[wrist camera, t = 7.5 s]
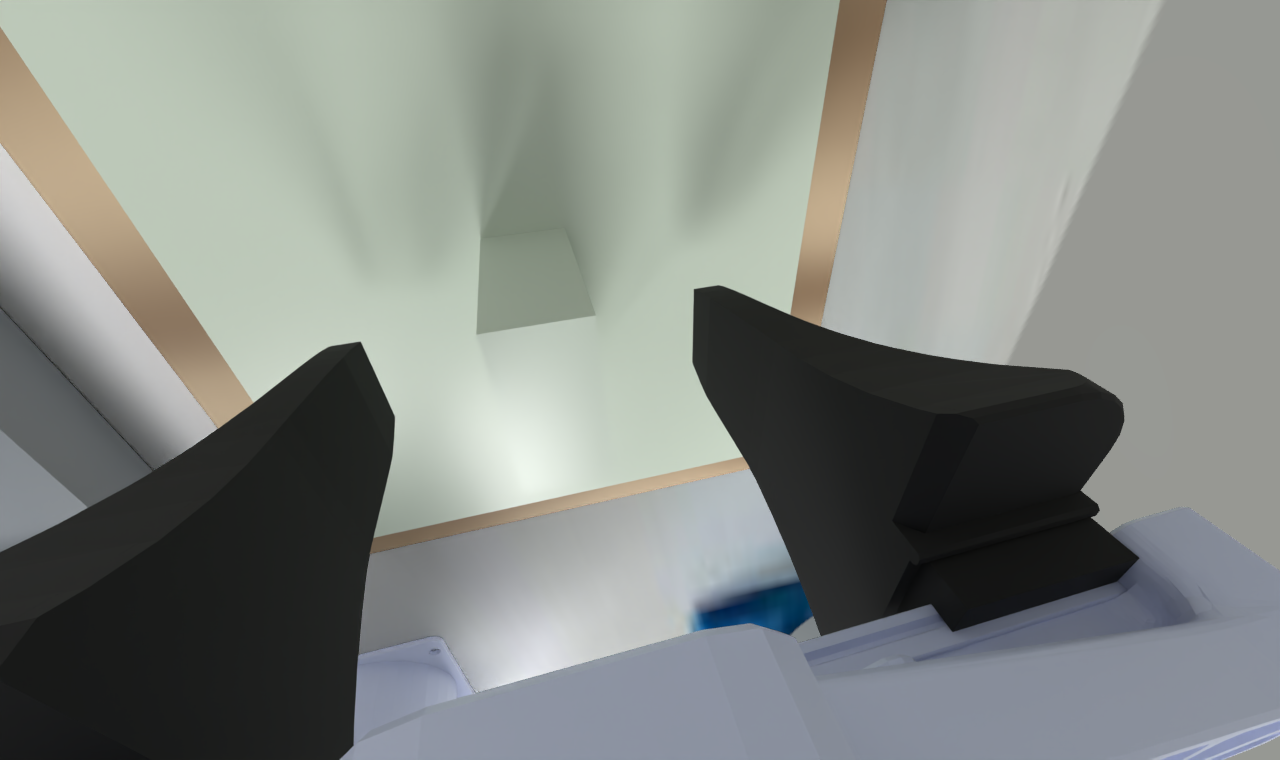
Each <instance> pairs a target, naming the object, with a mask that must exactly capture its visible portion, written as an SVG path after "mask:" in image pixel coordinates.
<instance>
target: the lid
mask: <svg viewBox="0 0 1280 760" xmlns="http://www.w3.org/2000/svg"><path fill="white" fill-rule="evenodd" d="M839 3H840V0H0V27H1V29H2V30H3V32H4V33H5V35H6V36H7V37H8V39H9V40H10V42H11V43H12V45H13V46H14V48H15V49H16V51H17V52H18V54H19V55H20V57H21V58H22V60H23V61H24V63H25V64H26V66H27V67H28V69H29V70H30V72H31V73H32V75H33V76H34V78H35V79H36V80H37V82H38V83H39V85H40V86H41V88H42V89H43V91H44V92H45V94H46V95H47V97H48V98H49V100H50V101H51V103H52V104H53V106H54V107H55V109H56V110H57V112H58V113H59V115H60V116H61V118H62V119H63V121H64V122H65V124H66V125H67V126H68V128H69V129H70V131H71V132H72V134H73V135H74V137H75V138H76V140H77V141H78V143H79V144H80V146H81V147H82V149H83V150H84V152H85V153H86V155H87V156H88V158H89V159H90V161H91V162H92V164H93V165H94V167H95V168H96V169H97V171H98V172H99V174H100V175H101V177H102V178H103V180H104V181H105V183H106V184H107V186H108V187H109V189H110V190H111V192H112V193H113V195H114V196H115V198H116V199H117V201H118V202H119V204H120V205H121V207H122V208H123V210H124V211H125V213H126V214H127V215H128V217H129V218H130V220H131V221H132V223H133V224H134V226H135V227H136V229H137V230H138V232H139V233H140V235H141V236H142V238H143V239H144V241H145V242H146V244H147V245H148V247H149V248H150V250H151V251H152V253H153V254H154V256H155V257H156V259H157V260H158V261H159V263H160V264H161V266H162V267H163V269H164V270H165V272H166V273H167V275H168V276H169V278H170V279H171V281H172V282H173V284H174V285H175V287H176V288H177V290H178V291H179V293H180V294H181V296H182V297H183V299H184V300H185V302H186V303H187V304H188V306H189V307H190V309H191V310H192V312H193V313H194V315H195V316H196V318H197V319H198V321H199V322H200V324H201V325H202V327H203V328H204V330H205V331H206V333H207V334H208V336H209V337H210V339H211V340H212V342H213V343H214V345H215V346H216V348H217V349H218V350H219V352H220V353H221V355H222V356H223V358H224V359H225V361H226V362H227V364H228V365H229V367H230V368H231V370H232V371H233V373H234V374H235V376H236V377H237V379H238V380H239V382H240V383H241V385H242V386H243V388H244V389H245V391H246V392H247V393H248V395H249V396H250V398H251V399H252V401H253V402H255V401H257V400H258V399H259V398H260V397H262V396H263V395H264V394H265V393H267V392H268V391H269V390H271V389H272V388H273V387H274V386H276V385H277V384H278V383H280V382H281V381H282V380H283V379H285V378H286V377H287V376H288V375H290V374H291V373H292V372H294V371H295V370H296V369H297V368H299V367H300V366H301V365H303V364H304V363H305V362H307V361H308V360H309V359H311V358H312V357H313V356H315V355H316V354H318V353H319V352H321V351H322V350H324V349H326V348H327V347H329V346H335V345H341V344H347V343H354V342H360V341H361V343H362V345H363V347H364V350H365V352H366V354H367V356H368V358H369V361H370V363H371V365H372V367H373V369H374V371H375V374H376V376H377V378H378V380H379V382H380V385H381V387H382V389H383V391H384V393H385V395H386V398H387V400H388V402H389V404H390V406H391V409H392V411H393V413H394V415H395V432H394V446H393V457H392V462H391V466H390V471H389V475H388V479H387V484H386V488H385V492H384V496H383V500H382V504H381V509H380V513H379V517H378V521H377V525H376V529H375V533H374V538H375V537H380V536H384V535H389V534H393V533H398V532H403V531H407V530H412V529H416V528H421V527H425V526H430V525H434V524H439V523H444V522H448V521H453V520H457V519H462V518H466V517H471V516H475V515H480V514H485V513H489V512H494V511H498V510H503V509H507V508H512V507H516V506H521V505H526V504H530V503H535V502H539V501H544V500H548V499H553V498H557V497H562V496H566V495H571V494H576V493H580V492H585V491H589V490H594V489H598V488H603V487H607V486H612V485H617V484H621V483H626V482H630V481H635V480H639V479H644V478H648V477H653V476H658V475H662V474H667V473H671V472H676V471H680V470H685V469H689V468H694V467H699V466H703V465H708V464H712V463H717V462H721V461H726V460H730V459H735V458H740V457H743V456H742V454H741V453H740V451H739V449H738V448H737V446H736V444H735V443H734V441H733V440H732V438H731V436H730V435H729V433H728V431H727V430H726V428H725V426H724V425H723V423H722V422H721V420H720V418H719V417H718V415H717V413H716V412H715V410H714V408H713V407H712V405H711V403H710V401H709V400H708V398H707V396H706V394H705V392H704V390H703V388H702V385H701V383H700V381H699V378H698V376H697V373H696V371H695V368H694V366H693V363H692V350H693V304H694V289H697V288H704V287H710V286H716V285H720V286H724V287H727V288H730V289H732V290H735V291H737V292H739V293H742V294H744V295H746V296H749V297H751V298H753V299H755V300H758V301H760V302H762V303H764V304H767V305H769V306H771V307H773V308H776V309H778V310H780V311H783V312H785V313H787V314H790V313H791V307H792V300H793V294H794V288H795V281H796V275H797V269H798V262H799V256H800V250H801V243H802V237H803V231H804V224H805V218H806V212H807V205H808V199H809V193H810V186H811V180H812V174H813V167H814V161H815V155H816V148H817V142H818V136H819V129H820V123H821V117H822V110H823V104H824V98H825V91H826V85H827V79H828V72H829V66H830V60H831V53H832V47H833V41H834V34H835V28H836V22H837V15H838V9H839Z"/></svg>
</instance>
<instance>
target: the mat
mask: <svg viewBox="0 0 1280 760" xmlns="http://www.w3.org/2000/svg"><path fill="white" fill-rule="evenodd" d="M886 2H887V0H840V3H839V9H838V15H837V22H836V28H835V34H834V41H833V47H832V53H831V60H830V66H829V72H828V79H827V85H826V91H825V98H824V104H823V110H822V117H821V123H820V129H819V136H818V142H817V148H816V155H815V161H814V167H813V174H812V180H811V186H810V193H809V199H808V205H807V212H806V218H805V224H804V231H803V237H802V243H801V250H800V256H799V262H798V269H797V275H796V281H795V288H794V294H793V300H792V307H791V313H790V315H792V316H795V317H797V318H799V319H802V320H804V321H807V322H810V323H813V324H815V325H818V326H821V321H822V316H823V311H824V306H825V302H826V297H827V292H828V287H829V282H830V277H831V272H832V267H833V262H834V257H835V252H836V247H837V243H838V238H839V233H840V228H841V223H842V218H843V213H844V208H845V203H846V198H847V193H848V188H849V183H850V179H851V174H852V169H853V164H854V159H855V154H856V149H857V144H858V139H859V134H860V129H861V124H862V120H863V115H864V110H865V105H866V100H867V95H868V90H869V85H870V80H871V75H872V70H873V65H874V61H875V56H876V51H877V46H878V41H879V36H880V31H881V26H882V21H883V16H884V11H885V6H886ZM0 143H1V144H2V146H3V147H4V148H5V150H6V151H7V152H8V154H9V155H10V156H11V158H12V159H13V160H14V162H15V163H16V164H17V165H18V167H19V168H20V169H21V171H22V172H23V173H24V175H25V176H26V177H27V179H28V180H29V181H30V183H31V184H32V185H33V186H34V188H35V189H36V190H37V192H38V193H39V194H40V196H41V197H42V198H43V200H44V201H45V202H46V204H47V205H48V206H49V207H50V209H51V210H52V211H53V213H54V214H55V215H56V217H57V218H58V219H59V221H60V222H61V223H62V224H63V226H64V227H65V228H66V230H67V231H68V232H69V234H70V235H71V236H72V238H73V239H74V240H75V242H76V243H77V244H78V245H79V247H80V248H81V249H82V251H83V252H84V253H85V255H86V256H87V257H88V259H89V260H90V261H91V263H92V264H93V265H94V266H95V268H96V269H97V270H98V272H99V273H100V274H101V276H102V277H103V278H104V280H105V281H106V282H107V284H108V285H109V286H110V287H111V289H112V290H113V291H114V293H115V294H116V295H117V297H118V298H119V299H120V301H121V302H122V303H123V305H124V306H125V307H126V308H127V310H128V311H129V312H130V314H131V315H132V316H133V318H134V319H135V320H136V322H137V323H138V324H139V326H140V327H141V328H142V329H143V331H144V332H145V333H146V335H147V336H148V337H149V339H150V340H151V341H152V343H153V344H154V345H155V346H156V348H157V349H158V350H159V352H160V353H161V354H162V356H163V357H164V358H165V360H166V361H167V362H168V364H169V365H170V366H171V367H172V369H173V370H174V371H175V373H176V374H177V375H178V377H179V378H180V379H181V381H182V382H183V383H184V385H185V386H186V387H187V388H188V390H189V391H190V392H191V394H192V395H193V396H194V398H195V399H196V400H197V402H198V403H199V404H200V406H201V407H202V408H203V409H204V411H205V412H206V413H207V415H208V416H209V417H210V419H211V420H212V421H213V423H214V424H215V425H216V427H217V428H220V427H221V426H222V425H224V424H225V423H227V422H228V421H229V420H231V419H232V418H233V417H235V416H236V415H238V414H239V413H240V412H242V411H243V410H244V409H246V408H247V407H249V406H250V405H251V404H253V403H254V402H253V401H252V399H251V398H250V396H249V395H248V393H247V392H246V391H245V389H244V388H243V386H242V385H241V383H240V382H239V380H238V379H237V377H236V376H235V374H234V373H233V371H232V370H231V368H230V367H229V365H228V364H227V362H226V361H225V359H224V358H223V356H222V355H221V353H220V352H219V350H218V349H217V348H216V346H215V345H214V343H213V342H212V340H211V339H210V337H209V336H208V334H207V333H206V331H205V330H204V328H203V327H202V325H201V324H200V322H199V321H198V319H197V318H196V316H195V315H194V313H193V312H192V310H191V309H190V307H189V306H188V304H187V303H186V302H185V300H184V299H183V297H182V296H181V294H180V293H179V291H178V290H177V288H176V287H175V285H174V284H173V282H172V281H171V279H170V278H169V276H168V275H167V273H166V272H165V270H164V269H163V267H162V266H161V264H160V263H159V261H158V260H157V259H156V257H155V256H154V254H153V253H152V251H151V250H150V248H149V247H148V245H147V244H146V242H145V241H144V239H143V238H142V236H141V235H140V233H139V232H138V230H137V229H136V227H135V226H134V224H133V223H132V221H131V220H130V218H129V217H128V215H127V214H126V213H125V211H124V210H123V208H122V207H121V205H120V204H119V202H118V201H117V199H116V198H115V196H114V195H113V193H112V192H111V190H110V189H109V187H108V186H107V184H106V183H105V181H104V180H103V178H102V177H101V175H100V174H99V172H98V171H97V169H96V168H95V167H94V165H93V164H92V162H91V161H90V159H89V158H88V156H87V155H86V153H85V152H84V150H83V149H82V147H81V146H80V144H79V143H78V141H77V140H76V138H75V137H74V135H73V134H72V132H71V131H70V129H69V128H68V126H67V125H66V124H65V122H64V121H63V119H62V118H61V116H60V115H59V113H58V112H57V110H56V109H55V107H54V106H53V104H52V103H51V101H50V100H49V98H48V97H47V95H46V94H45V92H44V91H43V89H42V88H41V86H40V85H39V83H38V82H37V80H36V79H35V78H34V76H33V75H32V73H31V72H30V70H29V69H28V67H27V66H26V64H25V63H24V61H23V60H22V58H21V57H20V55H19V54H18V52H17V51H16V49H15V48H14V46H13V45H12V43H11V42H10V40H9V39H8V37H7V36H6V35H5V33H4V32H3V30H2V29H1V27H0ZM746 469H750V468H749V466H748V464H747V462H746V461H745V459H744V458H743V457H740V458H735V459H730V460H726V461H721V462H717V463H712V464H708V465H703V466H699V467H694V468H689V469H685V470H680V471H676V472H671V473H667V474H662V475H658V476H653V477H648V478H644V479H639V480H635V481H630V482H626V483H621V484H617V485H612V486H607V487H603V488H598V489H594V490H589V491H585V492H580V493H576V494H571V495H566V496H562V497H557V498H553V499H548V500H544V501H539V502H535V503H530V504H526V505H521V506H516V507H512V508H507V509H503V510H498V511H494V512H489V513H485V514H480V515H475V516H471V517H466V518H462V519H457V520H453V521H448V522H444V523H439V524H434V525H430V526H425V527H421V528H416V529H412V530H407V531H403V532H398V533H393V534H389V535H384V536H380V537H375V538H373V542H372V546H371V551H370V554H372V553H376V552H381V551H385V550H390V549H394V548H398V547H403V546H407V545H412V544H416V543H421V542H425V541H430V540H434V539H439V538H443V537H447V536H452V535H456V534H461V533H465V532H470V531H474V530H479V529H483V528H488V527H492V526H496V525H501V524H505V523H510V522H514V521H519V520H523V519H528V518H532V517H537V516H541V515H545V514H550V513H554V512H559V511H563V510H568V509H572V508H577V507H581V506H586V505H590V504H594V503H599V502H603V501H608V500H612V499H617V498H621V497H626V496H630V495H635V494H639V493H644V492H648V491H652V490H657V489H661V488H666V487H670V486H675V485H679V484H684V483H688V482H693V481H697V480H701V479H706V478H710V477H715V476H719V475H724V474H728V473H733V472H737V471H742V470H746Z"/></svg>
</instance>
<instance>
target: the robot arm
mask: <svg viewBox="0 0 1280 760" xmlns="http://www.w3.org/2000/svg"><path fill="white" fill-rule="evenodd" d="M692 363H693V366H694V368H695V371H696V373H697V376H698V378H699V381H700V383H701V385H702V388H703V390H704V392H705V394H706V396H707V398H708V400H709V401H710V403H711V405H712V407H713V408H714V410H715V412H716V413H717V415H718V417H719V418H720V420H721V422H722V423H723V425H724V426H725V428H726V430H727V431H728V433H729V435H730V436H731V438H732V440H733V441H734V443H735V444H736V446H737V448H738V449H739V451H740V453H741V454H742V456H743V458H744V459H745V461H746V462H747V464H748V466H749V468H750V470H751V471H752V473H753V475H754V477H755V479H756V481H757V483H758V485H759V487H760V489H761V492H762V494H763V496H764V498H765V500H766V502H767V504H768V507H769V509H770V511H771V513H772V515H773V518H774V520H775V522H776V525H777V527H778V529H779V532H780V534H781V536H782V538H783V541H784V543H785V545H786V548H787V550H788V552H789V555H790V557H791V560H792V562H793V565H794V567H795V570H796V572H797V575H798V577H799V580H800V582H801V585H802V587H803V590H804V592H805V595H806V597H807V600H808V603H809V605H810V608H811V611H812V613H813V616H814V618H815V621H816V624H817V626H818V630H819V632H820V635H821V637H817V638H813V639H810V640H807V641H804V642H800V643H798V642H797V640H796V638H795V637H793V636H790V635H787V634H785V633H782V632H779V631H775V630H772V629H768V628H765V627H761V626H758V625H754V624H751V623H749V624H742V625H735V626H728V627H721V628H714V629H707V630H700V631H697V632H693V633H690V634H686V635H682V636H679V637H675V638H672V639H668V640H665V641H661V642H657V643H654V644H650V645H647V646H643V647H639V648H636V649H632V650H629V651H625V652H622V653H618V654H614V655H611V656H607V657H604V658H600V659H596V660H593V661H589V662H586V663H582V664H578V665H575V666H571V667H568V668H564V669H561V670H557V671H553V672H550V673H546V674H543V675H539V676H535V677H532V678H528V679H525V680H521V681H518V682H514V683H510V684H507V685H503V686H500V687H496V688H492V689H489V690H485V691H482V692H478V693H475V692H474V690H473V688H472V687H471V685H470V683H469V682H468V680H467V678H466V677H465V675H464V673H463V672H462V670H461V668H460V667H459V665H458V663H457V662H456V660H455V658H454V657H453V655H452V653H451V652H450V650H449V648H448V647H447V645H446V643H445V642H444V640H443V639H442V638H441V637H437V636H432V637H427V638H423V639H419V640H415V641H411V642H407V643H403V644H399V645H395V646H391V647H388V648H384V649H380V650H376V651H372V652H368V653H364V654H360V655H358V652H359V641H360V629H361V618H362V608H363V600H364V591H365V582H366V573H367V567H368V561H369V556H370V551H371V546H372V542H373V538H374V533H375V529H376V525H377V521H378V517H379V513H380V509H381V504H382V500H383V496H384V492H385V488H386V484H387V479H388V475H389V471H390V466H391V462H392V457H393V446H394V432H395V415H394V413H393V411H392V409H391V406H390V404H389V402H388V400H387V398H386V395H385V393H384V391H383V389H382V387H381V385H380V382H379V380H378V378H377V376H376V374H375V371H374V369H373V367H372V365H371V363H370V361H369V358H368V356H367V354H366V352H365V350H364V347H363V345H362V343H361V341H360V342H354V343H347V344H341V345H335V346H329V347H327V348H326V349H324V350H322V351H321V352H319V353H318V354H316V355H315V356H313V357H312V358H311V359H309V360H308V361H307V362H305V363H304V364H303V365H301V366H300V367H299V368H297V369H296V370H295V371H294V372H292V373H291V374H290V375H288V376H287V377H286V378H285V379H283V380H282V381H281V382H280V383H278V384H277V385H276V386H274V387H273V388H272V389H271V390H269V391H268V392H267V393H265V394H264V395H263V396H262V397H260V398H259V399H258V400H257V401H255V402H254V403H253V404H251V405H250V406H249V407H247V408H246V409H244V410H243V411H242V412H240V413H239V414H238V415H236V416H235V417H233V418H232V419H231V420H229V421H228V422H227V423H225V424H224V425H222V426H221V427H220V428H218V429H217V430H216V431H214V432H213V433H211V434H210V435H209V436H207V437H206V438H204V439H203V440H201V441H200V442H198V443H197V444H196V445H194V446H193V447H191V448H189V449H188V450H186V451H185V452H183V453H182V454H180V455H179V456H177V457H176V458H174V459H172V460H171V461H169V462H167V463H166V464H164V465H163V466H161V467H159V468H158V469H156V470H154V471H153V472H151V473H150V474H148V475H146V476H145V477H143V478H141V479H140V480H138V481H136V482H134V483H133V484H131V485H129V486H127V487H125V488H124V489H122V490H120V491H118V492H116V493H114V494H113V495H111V496H109V497H107V498H105V499H103V500H101V501H100V502H98V503H96V504H94V505H92V506H90V507H88V508H87V509H85V510H83V511H81V512H79V513H77V514H76V515H74V516H72V517H70V518H68V519H66V520H64V521H63V522H61V523H59V524H57V525H55V526H53V527H51V528H49V529H47V530H45V531H43V532H41V533H39V534H37V535H35V536H33V537H30V538H28V539H26V540H24V541H22V542H20V543H18V544H16V545H14V546H12V547H10V548H8V549H6V550H4V551H1V552H0V760H1224V759H1227V758H1229V757H1232V756H1234V755H1237V754H1239V753H1242V752H1244V751H1247V750H1249V749H1252V748H1254V747H1257V746H1259V745H1262V744H1264V743H1266V742H1268V741H1270V740H1272V739H1274V738H1276V737H1278V736H1280V570H1278V569H1277V568H1275V567H1274V566H1272V565H1271V564H1270V563H1268V562H1267V561H1265V560H1264V559H1262V558H1261V557H1260V556H1258V555H1257V554H1255V553H1254V552H1252V551H1251V550H1250V549H1248V548H1247V547H1245V546H1244V545H1242V544H1241V543H1239V542H1238V541H1237V540H1235V539H1234V538H1232V537H1231V536H1229V535H1228V534H1227V533H1225V532H1224V531H1222V530H1221V529H1219V528H1218V527H1216V526H1215V525H1214V524H1212V523H1211V522H1209V521H1208V520H1206V519H1205V518H1204V517H1202V516H1201V515H1199V514H1198V513H1196V512H1195V511H1193V510H1192V509H1191V508H1189V507H1178V508H1174V509H1171V510H1167V511H1163V512H1160V513H1156V514H1153V515H1149V516H1145V517H1142V518H1139V519H1135V520H1132V521H1129V522H1127V523H1125V524H1122V525H1121V526H1119V527H1118V528H1116V529H1114V530H1113V531H1111V532H1110V533H1109V532H1107V531H1106V530H1105V529H1104V528H1103V527H1102V526H1100V525H1099V524H1098V523H1097V522H1096V521H1094V520H1093V519H1092V518H1091V517H1093V516H1096V515H1097V513H1098V512H1099V511H1100V510H1099V507H1098V504H1097V503H1095V502H1094V501H1093V500H1091V499H1090V498H1089V497H1088V496H1086V495H1085V494H1084V493H1083V492H1082V491H1080V490H1081V489H1082V488H1083V486H1084V485H1085V483H1086V482H1087V481H1088V480H1089V478H1090V477H1091V475H1092V474H1093V473H1094V471H1095V470H1096V469H1097V467H1098V466H1099V465H1100V463H1101V462H1102V461H1103V459H1104V458H1105V457H1106V455H1107V454H1108V453H1109V451H1110V450H1111V448H1112V446H1113V445H1114V443H1115V442H1116V440H1117V438H1118V436H1119V435H1120V433H1121V429H1122V426H1123V423H1124V411H1123V403H1122V402H1121V401H1120V400H1119V399H1118V398H1117V397H1116V396H1115V395H1114V394H1112V393H1110V392H1109V391H1107V390H1105V389H1104V388H1102V387H1101V386H1099V385H1097V384H1096V383H1094V382H1092V381H1090V380H1089V379H1087V378H1086V377H1084V376H1082V375H1080V374H1078V373H1076V372H1073V371H1070V370H1061V369H1048V368H1036V367H1021V366H1009V365H997V364H988V363H980V362H972V361H965V360H957V359H950V358H944V357H938V356H932V355H926V354H921V353H916V352H911V351H906V350H902V349H897V348H892V347H888V346H884V345H879V344H875V343H872V342H868V341H865V340H861V339H858V338H854V337H851V336H847V335H844V334H841V333H838V332H835V331H832V330H829V329H826V328H823V327H821V326H818V325H815V324H813V323H810V322H807V321H804V320H802V319H799V318H797V317H795V316H792V315H790V314H787V313H785V312H783V311H780V310H778V309H776V308H773V307H771V306H769V305H767V304H764V303H762V302H760V301H758V300H755V299H753V298H751V297H749V296H746V295H744V294H742V293H739V292H737V291H735V290H732V289H730V288H727V287H724V286H720V285H716V286H710V287H704V288H697V289H694V304H693V350H692ZM432 649H439V650H435V651H432Z"/></svg>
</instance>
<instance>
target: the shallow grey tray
mask: <svg viewBox="0 0 1280 760" xmlns="http://www.w3.org/2000/svg"><path fill="white" fill-rule="evenodd" d="M151 472H153V470H152V469H151V468H150V467H149V466H148V465H147V464H146V463H145V462H144V461H143V460H142V459H141V458H140V457H139V455H138V454H137V453H136V452H135V451H134V450H133V449H132V448H131V447H130V446H129V445H128V444H127V443H126V442H125V440H124V439H123V438H122V437H121V436H120V435H119V434H118V433H117V432H116V431H115V430H114V429H113V428H112V427H111V426H110V424H109V423H108V422H107V421H106V420H105V419H104V418H103V417H102V416H101V415H100V414H99V413H98V412H97V411H96V410H95V408H94V407H93V406H92V405H91V404H90V403H89V402H88V401H87V400H86V399H85V398H84V397H83V396H82V395H81V393H80V392H79V391H78V390H77V389H76V388H75V387H74V386H73V385H72V384H71V383H70V382H69V381H68V380H67V379H66V377H65V376H64V375H63V374H62V373H61V372H60V371H59V370H58V369H57V368H56V367H55V366H54V365H53V364H52V363H51V361H50V360H49V359H48V358H47V357H46V356H45V355H44V354H43V353H42V352H41V351H40V350H39V349H38V348H37V346H36V345H35V344H34V343H33V342H32V341H31V340H30V339H29V338H28V337H27V336H26V335H25V334H24V333H23V332H22V330H21V329H20V328H19V327H18V326H17V325H16V324H15V323H14V322H13V321H12V320H11V319H10V318H9V317H8V316H7V314H6V313H5V312H4V311H3V310H2V309H1V308H0V552H1V551H4V550H6V549H8V548H10V547H12V546H14V545H16V544H18V543H20V542H22V541H24V540H26V539H28V538H30V537H33V536H35V535H37V534H39V533H41V532H43V531H45V530H47V529H49V528H51V527H53V526H55V525H57V524H59V523H61V522H63V521H64V520H66V519H68V518H70V517H72V516H74V515H76V514H77V513H79V512H81V511H83V510H85V509H87V508H88V507H90V506H92V505H94V504H96V503H98V502H100V501H101V500H103V499H105V498H107V497H109V496H111V495H113V494H114V493H116V492H118V491H120V490H122V489H124V488H125V487H127V486H129V485H131V484H133V483H134V482H136V481H138V480H140V479H141V478H143V477H145V476H146V475H148V474H150V473H151Z"/></svg>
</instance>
